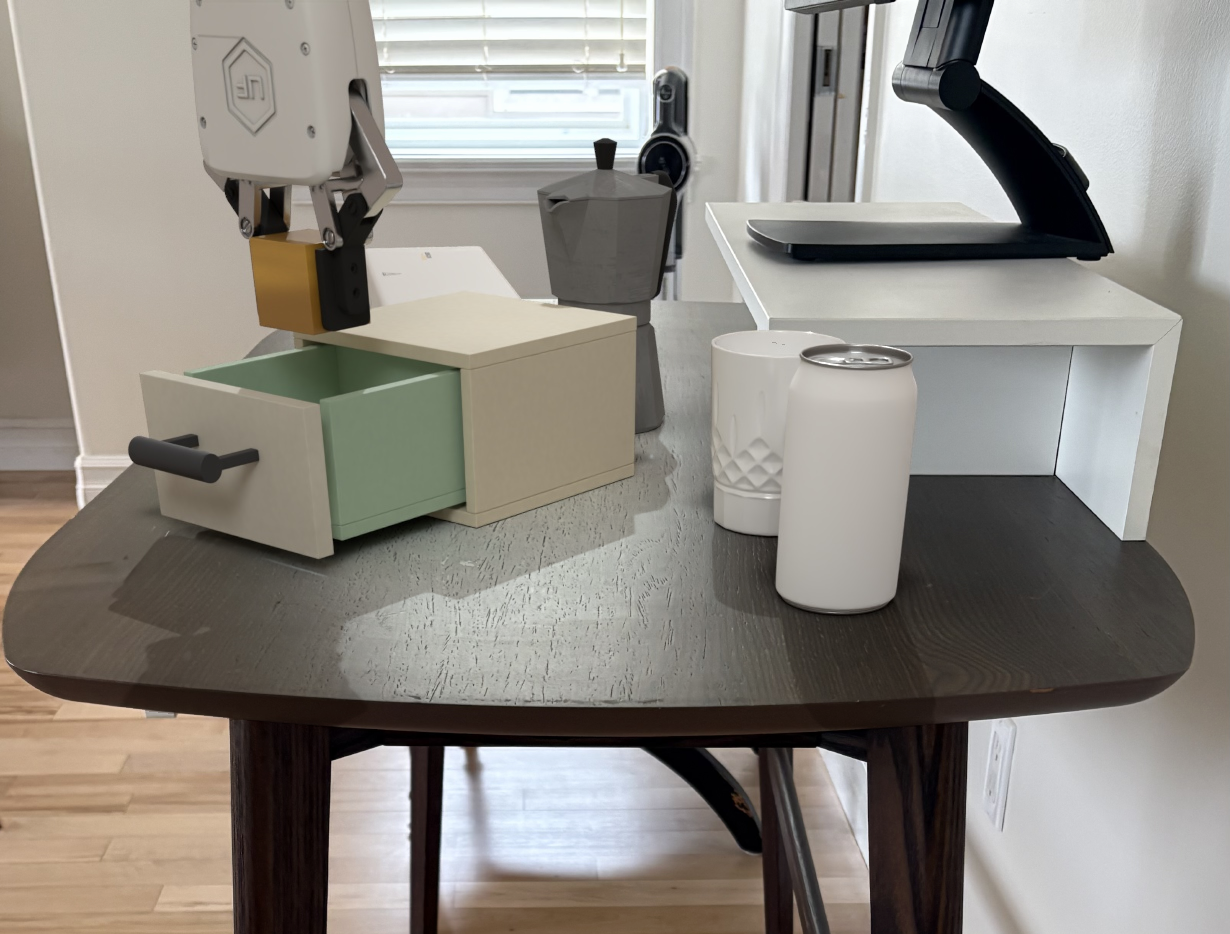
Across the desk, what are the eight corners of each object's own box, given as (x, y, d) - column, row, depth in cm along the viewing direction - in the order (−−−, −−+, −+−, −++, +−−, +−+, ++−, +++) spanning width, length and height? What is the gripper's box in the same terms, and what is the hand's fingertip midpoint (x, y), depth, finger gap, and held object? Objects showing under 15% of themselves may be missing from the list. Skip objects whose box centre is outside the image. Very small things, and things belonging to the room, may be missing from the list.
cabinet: (476, 528, 95) (469, 354, 89) (308, 486, 102) (291, 322, 96) (634, 475, 105) (637, 316, 99) (471, 440, 112) (464, 290, 106)
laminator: (366, 321, 148) (361, 247, 144) (497, 318, 150) (494, 245, 146) (391, 403, 121) (385, 314, 117) (550, 398, 123) (549, 310, 119)
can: (772, 576, 87) (787, 340, 80) (889, 578, 87) (914, 342, 80) (777, 615, 82) (794, 367, 75) (901, 618, 82) (930, 369, 75)
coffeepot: (606, 448, 110) (608, 149, 100) (499, 429, 114) (490, 140, 104) (719, 407, 121) (731, 133, 110) (617, 391, 125) (619, 125, 114)
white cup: (756, 547, 92) (767, 361, 86) (678, 515, 97) (683, 337, 91) (860, 527, 95) (877, 347, 89) (778, 496, 101) (790, 324, 95)
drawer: (259, 578, 84) (240, 422, 79) (101, 531, 90) (75, 385, 86) (494, 502, 96) (489, 363, 91) (339, 466, 102) (327, 334, 98)
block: (313, 335, 86) (304, 244, 84) (259, 325, 88) (248, 237, 86) (371, 323, 89) (363, 235, 86) (317, 314, 91) (308, 228, 89)
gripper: (103, -84, 80) (164, 314, 90) (337, -88, 71) (373, 351, 82) (219, -82, 84) (263, 296, 95) (451, -85, 76) (471, 329, 87)
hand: (314, 317), depth 88 cm, fingers closed on block, 4 cm apart
